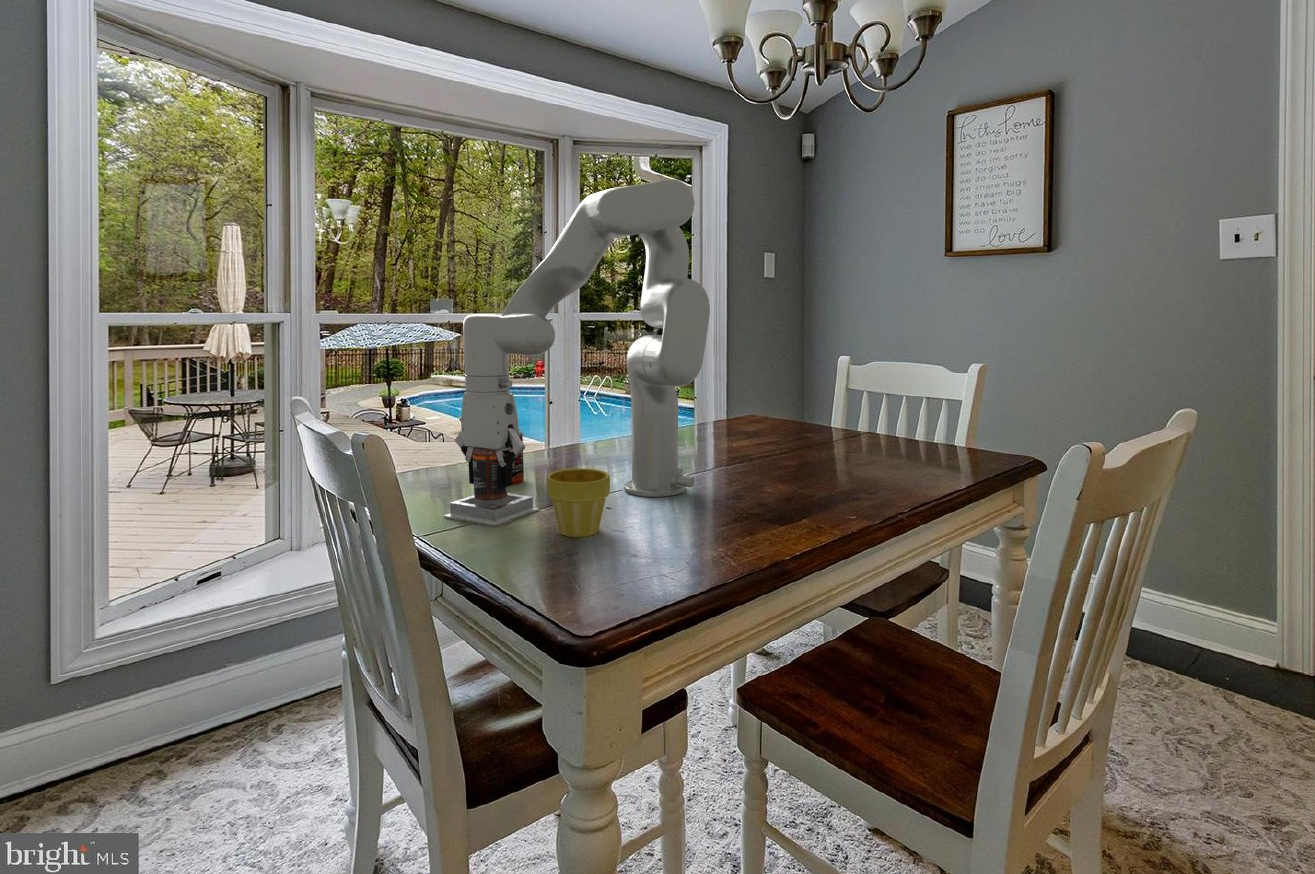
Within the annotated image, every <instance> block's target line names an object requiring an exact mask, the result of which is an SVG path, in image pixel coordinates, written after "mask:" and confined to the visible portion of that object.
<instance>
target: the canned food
mask: <svg viewBox="0 0 1315 874" xmlns="http://www.w3.org/2000/svg"><path fill="white" fill-rule="evenodd" d="M519 438H520V440H521V441H522V442H523V443H524V436H523V431H522V430H520V429H519ZM512 449H513V447H511V450H512ZM524 469H525V468H524V450H523V451H522V452H521V454H519V456H518V458H517V459H516V460H515V463H514V464H512V485H511V486H515V485H519V484H521V483H522V482H523V481H524V478H525V475H524V473H525V472H524V471H525V470H524Z"/></svg>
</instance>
